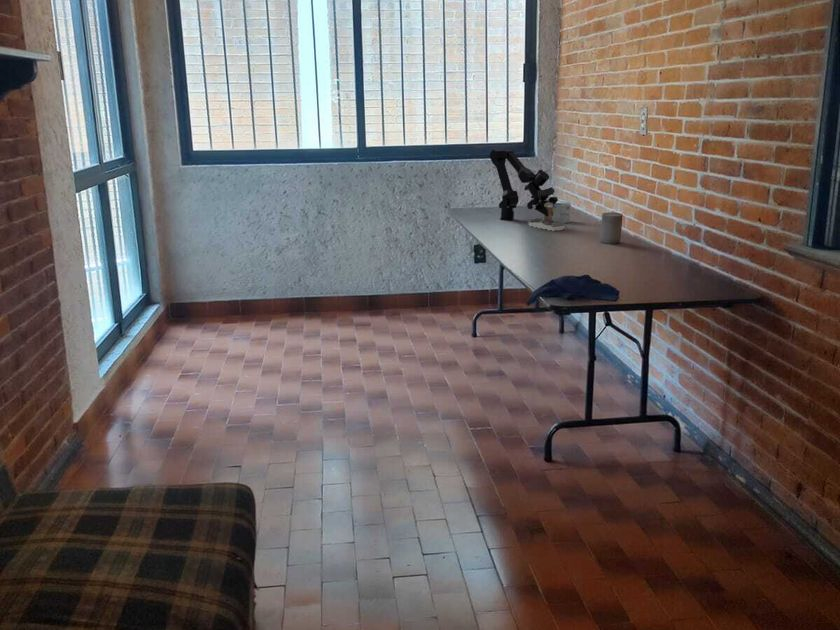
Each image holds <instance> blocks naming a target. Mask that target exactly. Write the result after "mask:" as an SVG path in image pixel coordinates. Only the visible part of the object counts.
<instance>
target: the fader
mask: <svg viewBox="0 0 840 630" xmlns="http://www.w3.org/2000/svg"><path fill="white" fill-rule="evenodd" d="M545 208H546V210H547V212H548V214H549V216H548V217H547V216H546V215H544V218H543V219H544V220H543V219H542V223H543V224H552V223H555V222H554V221H553V220H552V209H553V203H546V204H545Z"/></svg>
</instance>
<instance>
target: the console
mask: <svg viewBox="0 0 840 630" xmlns="http://www.w3.org/2000/svg"><path fill="white" fill-rule="evenodd" d="M542 220H543V217H540V216H539V217H533V218H528V227H531V226H533V227H532V228H536V227H537V229H541V228H542V230H545V229H547V231H550V230H552V231H551V232H555V230H557V231H564V230H565V227H566V226H565V225H566V222H553V223H552V224H543V223H542ZM563 229H564V230H563Z"/></svg>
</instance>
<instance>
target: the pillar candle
mask: <svg viewBox="0 0 840 630" xmlns="http://www.w3.org/2000/svg"><path fill="white" fill-rule="evenodd" d="M622 229H623V213H619V212H613V211H612V212H609V211H608V212H602V213H601V224H600V235H599V242H600V243H602V242H603V243H602V244H606V243H608V244H607V245H616V243H618V244H621V236H622Z"/></svg>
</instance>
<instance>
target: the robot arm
mask: <svg viewBox="0 0 840 630" xmlns="http://www.w3.org/2000/svg"><path fill="white" fill-rule="evenodd" d="M489 158H490V161H491V163H492V164H493V165H494V166H495V168H496V170H497V174H498V178H499V181H500V186H501V188H502V195H501V198H502V199H501V201H500V202H499V203H498V208H499V209H501V212H500V218H499V219H500V220H501V219H504V221H513V220H514V219H515V210H514V209H516V208H517V206H518V204H519V198H520V196H519V194H518V191H517V190H514V189H513V188H512V185H511V180H510V178H509V177H510V176H509V174H508V170H507V166H506V163H507V162H506V160H507V161H508V162H509V164H510V166H512V168H513V169H514V170H515V171H516V172H517V177H518V179H519V180H520V182H521V183H522V184H525V186H524V191H528V192H529V193H530V198H531V199H530V200H529V202H527V204H526V207H527V209H528V210H533V208H534V210H535V211H537V212H538V213H541V214H542V215H544V216H545V215H546V216H547V217H548V216H549V214H548V212H547V210H546V208H545V204H546V203H553V205H554V204H555V203H556V202H557V201H559V199H558V197H557V196H553V195H554V193H555V189H554V188H553V187H552V186H551V187H549V188H545V189H541V187H543V186H544V185H545V184H546V183H547V182H548V180H549V179H550V175H549V173H547V172H546V171H544V170H543V169H539V170H538V171H537V173H536V174H535V172H534V171H532V170H531V169H530V168H527V167H526V166H525V165H524V164H523V163H522V162H521V160H520V159H519V158H518V157H517V155H516V154H515V152H514V151H513V150H512V149H508V150H503V149H492V150H491V151H490V154H489ZM551 195H552V196H551ZM534 206H535V207H534ZM552 216H553V211H552ZM512 219H513V220H512Z"/></svg>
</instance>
